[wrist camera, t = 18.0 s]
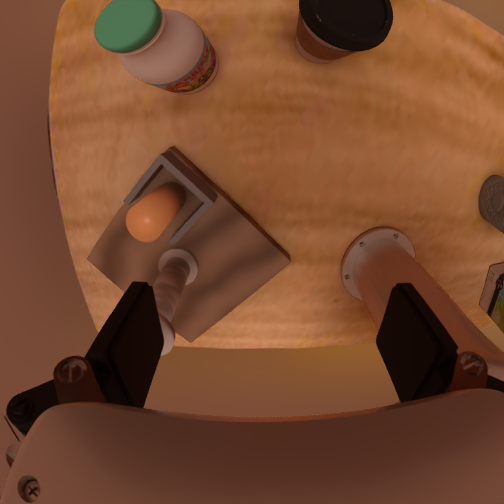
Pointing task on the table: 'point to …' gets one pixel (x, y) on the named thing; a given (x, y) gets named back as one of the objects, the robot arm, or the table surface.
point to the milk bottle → (158, 45)
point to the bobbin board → (192, 260)
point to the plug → (155, 211)
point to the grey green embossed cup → (493, 201)
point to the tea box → (494, 295)
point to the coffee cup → (341, 27)
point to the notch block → (187, 179)
